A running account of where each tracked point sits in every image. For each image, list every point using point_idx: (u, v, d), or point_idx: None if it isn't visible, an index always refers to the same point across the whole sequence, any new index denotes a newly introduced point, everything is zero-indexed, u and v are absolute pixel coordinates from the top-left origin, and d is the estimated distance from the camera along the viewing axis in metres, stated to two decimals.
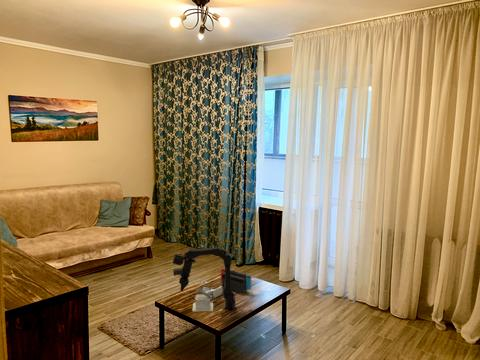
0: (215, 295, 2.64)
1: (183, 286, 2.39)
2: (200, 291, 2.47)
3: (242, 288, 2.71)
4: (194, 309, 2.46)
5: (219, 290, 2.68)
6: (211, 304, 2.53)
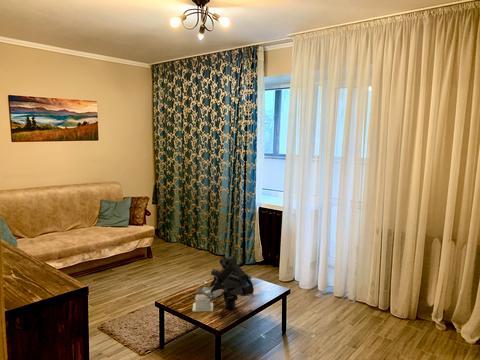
0: (215, 295, 2.64)
1: (215, 288, 2.43)
2: (200, 291, 2.47)
3: None
4: (194, 309, 2.46)
5: (219, 290, 2.68)
6: (211, 304, 2.53)
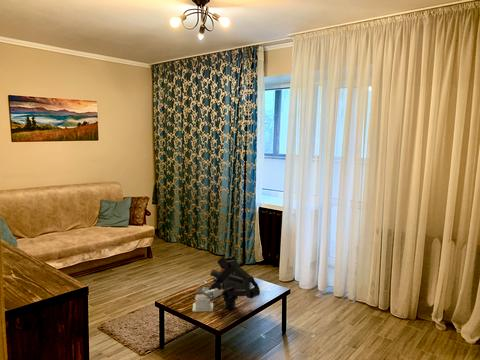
0: (215, 295, 2.64)
1: (214, 286, 2.48)
2: (200, 291, 2.47)
3: (242, 288, 2.71)
4: (194, 309, 2.46)
5: (219, 290, 2.68)
6: (211, 304, 2.53)
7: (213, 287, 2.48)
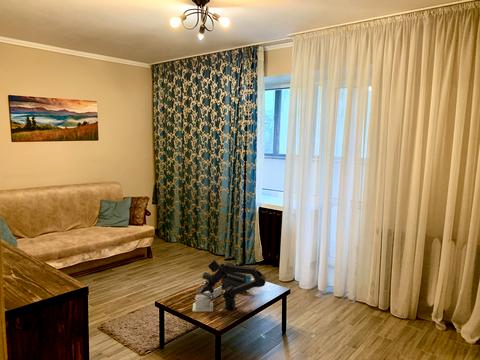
0: (215, 295, 2.64)
1: (206, 289, 2.47)
2: (200, 292, 2.47)
3: None
4: (194, 309, 2.46)
5: (219, 290, 2.68)
6: (211, 304, 2.53)
7: (205, 290, 2.47)
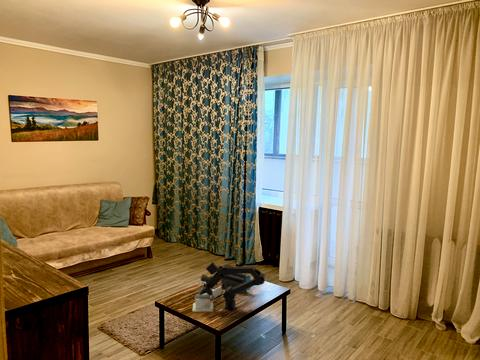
0: (215, 295, 2.64)
1: (204, 292, 2.47)
2: (198, 296, 2.48)
3: None
4: (194, 309, 2.46)
5: (218, 290, 2.68)
6: (211, 304, 2.53)
7: (203, 292, 2.47)
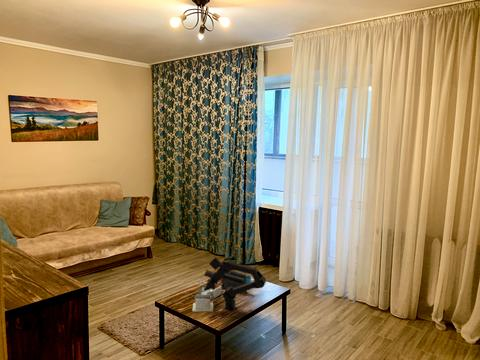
0: (215, 295, 2.64)
1: (208, 287, 2.47)
2: (198, 296, 2.48)
3: None
4: (194, 309, 2.46)
5: (218, 290, 2.68)
6: (211, 304, 2.53)
7: (208, 288, 2.47)
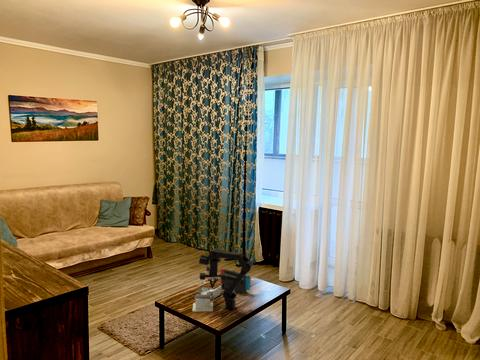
0: (215, 295, 2.64)
1: None
2: (198, 296, 2.48)
3: (241, 288, 2.70)
4: (194, 309, 2.46)
5: (218, 290, 2.68)
6: (211, 304, 2.53)
7: (210, 283, 2.51)
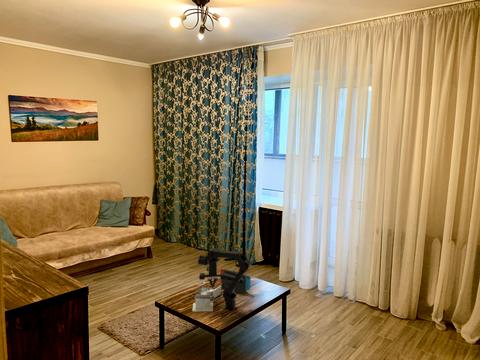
0: (215, 295, 2.64)
1: None
2: (198, 296, 2.48)
3: (241, 288, 2.70)
4: (194, 309, 2.46)
5: (218, 290, 2.68)
6: (211, 304, 2.53)
7: (210, 283, 2.51)
